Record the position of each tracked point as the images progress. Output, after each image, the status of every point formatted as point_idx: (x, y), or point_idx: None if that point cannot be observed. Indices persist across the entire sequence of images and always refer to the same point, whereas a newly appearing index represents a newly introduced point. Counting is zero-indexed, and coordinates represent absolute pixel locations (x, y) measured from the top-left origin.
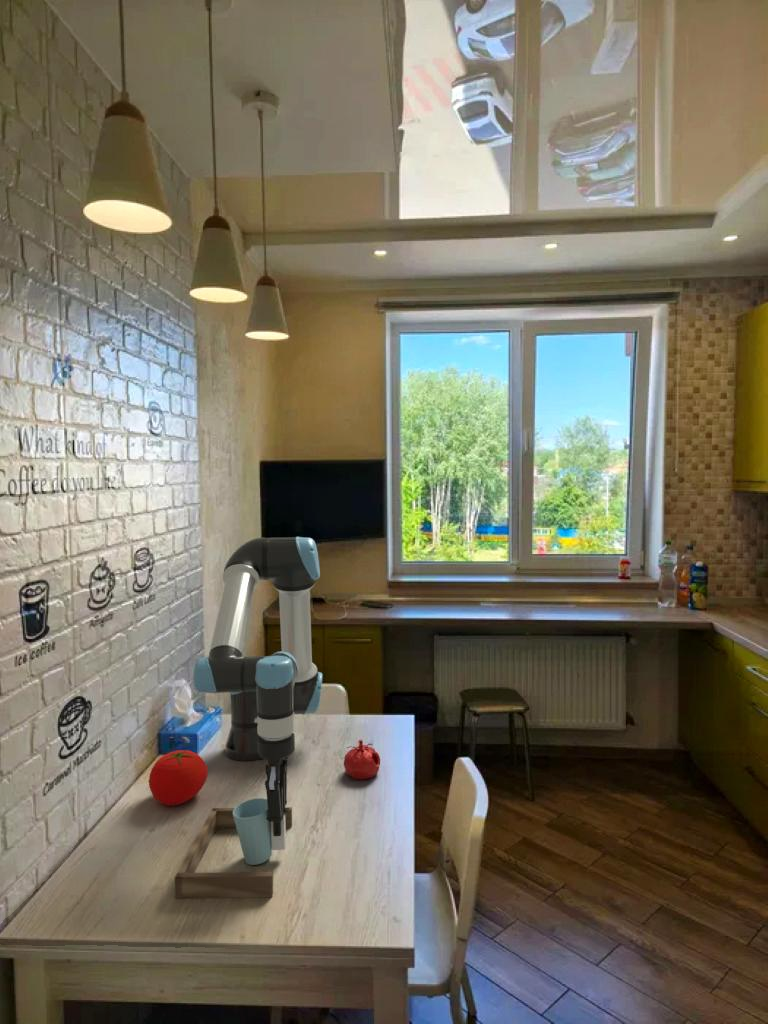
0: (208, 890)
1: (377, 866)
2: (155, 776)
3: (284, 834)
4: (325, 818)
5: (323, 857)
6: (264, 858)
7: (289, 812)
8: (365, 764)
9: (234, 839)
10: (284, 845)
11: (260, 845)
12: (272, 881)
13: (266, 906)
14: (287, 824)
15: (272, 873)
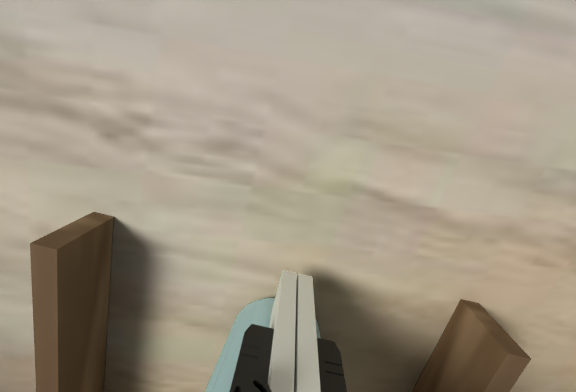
0: None
1: None
2: None
3: (314, 319)
4: (49, 69)
5: (334, 121)
6: (317, 327)
7: (66, 250)
8: None
9: (164, 376)
10: (312, 287)
11: None
12: (499, 333)
13: (510, 318)
14: (104, 234)
15: (517, 355)
